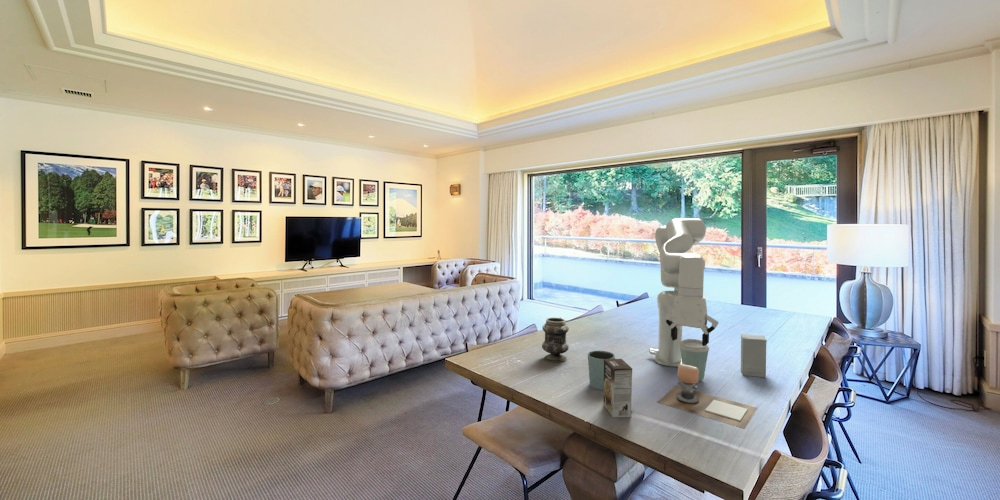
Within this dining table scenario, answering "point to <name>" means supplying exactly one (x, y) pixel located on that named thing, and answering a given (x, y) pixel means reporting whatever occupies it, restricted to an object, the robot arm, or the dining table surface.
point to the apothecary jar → (555, 339)
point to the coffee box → (617, 387)
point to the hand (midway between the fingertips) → (689, 342)
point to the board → (703, 404)
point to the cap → (688, 373)
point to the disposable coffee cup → (694, 355)
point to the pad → (726, 410)
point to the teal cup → (597, 368)
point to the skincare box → (753, 355)
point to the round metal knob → (687, 393)
